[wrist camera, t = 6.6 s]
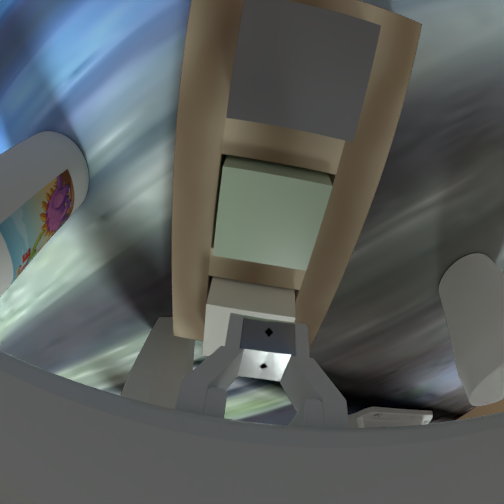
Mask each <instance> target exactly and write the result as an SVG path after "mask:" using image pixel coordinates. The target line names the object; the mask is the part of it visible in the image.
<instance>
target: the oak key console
mask: <svg viewBox="0 0 504 504" xmlns="http://www.w3.org/2000/svg"><path fill="white" fill-rule="evenodd" d="M244 1H245V0H192V1H191V7H190V13H189V19H188V26H187V33H186V40H185V48H184V56H183V64H182V72H181V82H180V91H179V102H178V113H177V126H176V140H175V155H174V175H173V201H172V306H173V332H174V336H178V337H183V338H189V339H194V340H199V341H204V327H205V313H206V303H207V299H208V294H209V290H210V286H211V282H212V278H213V276H215V277H221V278H227V279H233V280H239V281H246V282H252V283H258V284H264V285H271V286H277V287H284V288H290V289H294V290H295V313H296V318H295V321H294V323H302V324H307V326H308V337H309V349H310V347H311V345H312V343H313V341H314V339H315V337H316V335H317V333H318V331H319V329H320V326H321V324H322V322H323V320H324V318H325V316H326V313H327V311H328V309H329V307H330V305H331V302H332V300H333V298H334V296H335V293H336V291H337V289H338V286H339V284H340V282H341V279H342V277H343V275H344V272H345V270H346V268H347V265H348V263H349V260H350V258H351V255H352V253H353V250H354V248H355V245H356V243H357V240H358V238H359V235H360V233H361V230H362V227H363V225H364V222H365V219H366V217H367V214H368V211H369V209H370V206H371V203H372V200H373V198H374V195H375V192H376V189H377V186H378V183H379V180H380V178H381V175H382V172H383V169H384V166H385V163H386V159H387V156H388V153H389V150H390V147H391V144H392V140H393V137H394V134H395V131H396V127H397V124H398V120H399V117H400V113H401V110H402V106H403V103H404V99H405V95H406V91H407V88H408V84H409V80H410V76H411V72H412V68H413V63H414V59H415V55H416V50H417V46H418V41H419V36H420V31H421V26H422V24H420V23H418V22H416V21H413V20H411V19H409V18H406V17H404V16H401V15H399V14H396V13H393V12H391V11H388V10H385V9H383V8H380V7H377V6H374V5H371V4H368V3H365V2H362V1H358V0H284V1H290V2H295V3H300V4H305V5H310V6H315V7H319V8H323V9H327V10H331V11H335V12H339V13H343V14H346V15H350V16H353V17H356V18H360V19H363V20H366V21H369V22H372V23H375V24H378V25H381V29H380V34H379V38H378V43H377V48H376V52H375V57H374V61H373V65H372V70H371V74H370V78H369V82H368V87H367V91H366V95H365V99H364V103H363V106H362V110H361V114H360V118H359V122H358V126H357V129H356V133H355V137H354V140H353V142H349V141H345V140H341V139H336V138H332V137H328V136H324V135H319V134H315V133H310V132H305V131H301V130H296V129H291V128H285V127H280V126H275V125H269V124H263V123H257V122H251V121H244V120H238V119H231V118H226V115H227V107H228V100H229V93H230V86H231V80H232V73H233V67H234V60H235V54H236V48H237V42H238V36H239V30H240V24H241V18H242V12H243V7H244ZM228 155H233V156H240V157H246V158H252V159H258V160H264V161H270V162H276V163H281V164H286V165H292V166H297V167H302V168H307V169H312V170H317V171H321V172H326V173H328V175H329V178H330V181H331V183H332V186H333V187H332V190H331V193H330V197H329V200H328V203H327V207H326V210H325V213H324V217H323V220H322V223H321V226H320V230H319V233H318V236H317V239H316V242H315V245H314V248H313V251H312V255H311V258H310V261H309V264H308V267H307V270H306V271H305V270H299V269H293V268H287V267H280V266H274V265H268V264H262V263H256V262H250V261H244V260H238V259H231V258H225V257H219V256H213V249H214V240H215V230H216V221H217V212H218V203H219V194H220V186H221V177H222V169H223V165H224V162H225V160H226V158H227V156H228Z"/></svg>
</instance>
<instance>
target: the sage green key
mask: <svg viewBox="0 0 504 504" xmlns="http://www.w3.org/2000/svg"><path fill="white" fill-rule="evenodd" d="M332 187H333V186H332V183H331V181H330V178H329V175H328V173H326V172H321V171H317V170H312V169H307V168H302V167H297V166H292V165H286V164H281V163H276V162H270V161H264V160H258V159H252V158H246V157H240V156H233V155H228V156H227V158H226V160H225V162H224V165H223V169H222V177H221V186H220V194H219V203H218V212H217V221H216V230H215V240H214V249H213V256H219V257H225V258H231V259H238V260H244V261H250V262H256V263H262V264H268V265H274V266H280V267H287V268H293V269H299V270H305V271H306V270H307V267H308V264H309V261H310V258H311V255H312V251H313V248H314V245H315V242H316V239H317V236H318V233H319V230H320V226H321V223H322V220H323V217H324V213H325V210H326V207H327V203H328V200H329V197H330V193H331V190H332Z"/></svg>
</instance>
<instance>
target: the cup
mask: <svg viewBox="0 0 504 504" xmlns="http://www.w3.org/2000/svg"><path fill="white" fill-rule="evenodd" d="M439 296H440V299H441V303H442V306H443V310H444V314H445V318H446V322H447V326H448V330H449V334H450V339H451V343H452V348H453V353H454V357H455V362H456V368H457V372H458V375H459V378H460V380H461V382H462V384H463V387H464V389H465V392H466V394H467V397H468V400H469V403H470V404H471V405H473V406H483V405H488V404H492V403H494V402H497V401H499V400H502V399H504V272H503V271H502V270H501V269H500V268H499V267H498V266H497V265H496V264H495V263H494V262H493V261H492V260H491V259H490V258H489V257H488V256H486V255H484V254H481V253H474V254H469V255H467V256H464V257H462V258H461V259H459V260H458V261H456V262H455V263H454V264H453V265H451V266H450V267H449V269H448V270H447V271H446V272H445V274H444V275H443V277H442V279H441V281H440V284H439Z"/></svg>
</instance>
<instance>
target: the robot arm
mask: <svg viewBox="0 0 504 504" xmlns="http://www.w3.org/2000/svg"><path fill="white" fill-rule="evenodd" d="M238 376H243V377H252V378H260V379H267V380H274V381H280V383H281V385H282V387H283V389H284V390H285V392H286V394H287V396H288V397H289V399H290V401H291V403H292V404H293V406H294V408H295V410H296V411H297V414H296V415H295V417H294V418H293V420H292V421H291V423H290V424H289V425H288V426H286V425H274V424H264V423H255V422H247V421H239V420H232V419H225V418H224V414H225V406H226V398H227V392H226V389H227V388H228V387H229V386H230V385H231V384H232V383H233V382H234V380H235V379H236V378H237V377H238ZM432 416H433V414H432V411H427V410H410V409H396V408H385V407H369V408H366V409H363V410H361V411H358V412H356V413H353V414H350V415H348V413H347V403H346V399H345V398H344V397H343V395H342V394H341V393H340V392H339V390H338V389H337V388H336V387H335V385H334V384H333V383H332V381H331V380H330V379H329V378H328V376H327V375H326V374H325V372H324V371H323V370H322V369H321V367H320V366H319V365H318V363H317V362H316V361H315V360H314V358H310V352H309V337H308V326H307V324H302V323H293V322H287V321H279V320H272V319H263V318H258V317H252V316H247V315H244V316H243V315H240V314H235V313H230V317H229V323H228V329H227V335H226V341H225V346H220V347H219V348H218V349H217V350H216V351H214V352H213V353H212V354H211V355H210V356H209V357H208V358H207V359H205V360H204V361H203V362H202V363H201V364H200V365H199V366H198V367H196V368H195V369H194V370H193V371H192V372H191V373H190V374H188V375H187V376H186V377H185V378H184V379H183V380H182V382H181V386H180V390H179V394H178V398H177V402H176V406H175V409H171V408H166V407H162V406H157V405H153V404H149V403H145V402H141V401H137V400H134V399H130V398H126V397H123V396H119V395H116V394H112V393H109V392H106V391H102V390H99V389H96V388H93V387H90V386H87V385H84V384H81V383H78V382H75V381H72V380H70V379H67V378H64V377H61V376H59V375H56V374H54V373H51V372H48V371H46V370H43V369H41V368H39V367H36V366H34V365H31V364H29V363H27V362H24V361H22V360H20V359H18V358H15V357H13V356H11V355H9V354H7V353H5V352H3V351H1V350H0V504H504V412H501V413H496V414H491V415H486V416H481V417H475V418H470V419H463V420H456V421H449V422H442V423H433V424H428V423H429V422H430V421H431V419H432Z"/></svg>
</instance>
